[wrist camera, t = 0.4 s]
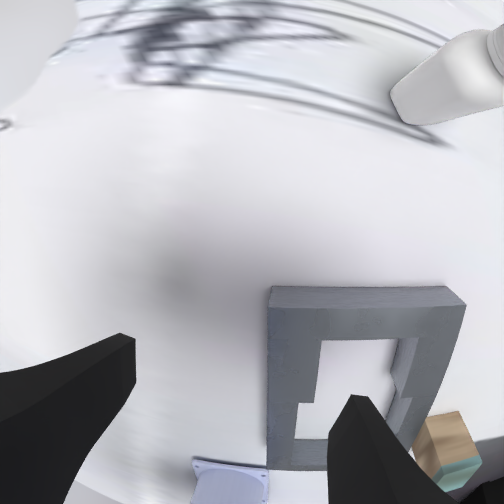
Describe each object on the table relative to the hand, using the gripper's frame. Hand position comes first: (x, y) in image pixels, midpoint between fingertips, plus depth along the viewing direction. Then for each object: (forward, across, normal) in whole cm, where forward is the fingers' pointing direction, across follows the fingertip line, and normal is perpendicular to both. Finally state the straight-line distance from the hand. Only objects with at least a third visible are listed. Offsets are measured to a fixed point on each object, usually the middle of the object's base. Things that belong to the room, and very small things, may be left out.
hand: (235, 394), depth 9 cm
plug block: (+10, -19, +11) cm, 25 cm away
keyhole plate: (+10, -8, +7) cm, 15 cm away
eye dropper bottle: (+10, -7, -14) cm, 19 cm away
